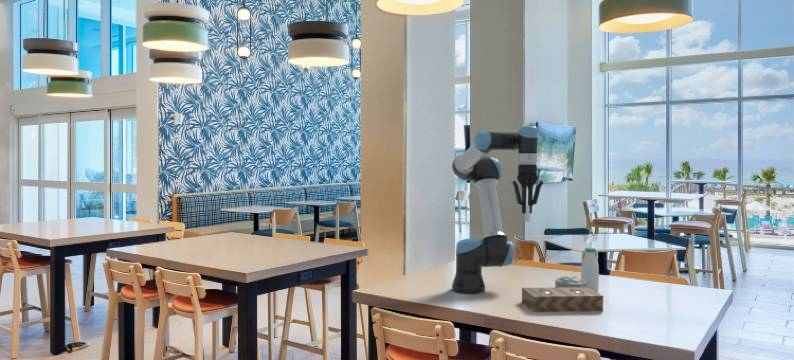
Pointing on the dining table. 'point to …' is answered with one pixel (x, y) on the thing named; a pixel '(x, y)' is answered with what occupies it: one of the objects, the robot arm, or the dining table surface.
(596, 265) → the milk bottle
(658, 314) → the dining table surface
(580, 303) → the walnut block
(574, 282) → the lumpy-topped squat cylinder
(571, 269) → the dining table surface
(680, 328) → the dining table surface
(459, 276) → the robot arm
